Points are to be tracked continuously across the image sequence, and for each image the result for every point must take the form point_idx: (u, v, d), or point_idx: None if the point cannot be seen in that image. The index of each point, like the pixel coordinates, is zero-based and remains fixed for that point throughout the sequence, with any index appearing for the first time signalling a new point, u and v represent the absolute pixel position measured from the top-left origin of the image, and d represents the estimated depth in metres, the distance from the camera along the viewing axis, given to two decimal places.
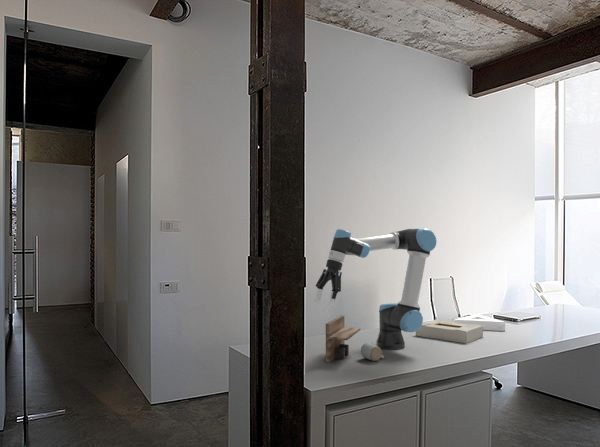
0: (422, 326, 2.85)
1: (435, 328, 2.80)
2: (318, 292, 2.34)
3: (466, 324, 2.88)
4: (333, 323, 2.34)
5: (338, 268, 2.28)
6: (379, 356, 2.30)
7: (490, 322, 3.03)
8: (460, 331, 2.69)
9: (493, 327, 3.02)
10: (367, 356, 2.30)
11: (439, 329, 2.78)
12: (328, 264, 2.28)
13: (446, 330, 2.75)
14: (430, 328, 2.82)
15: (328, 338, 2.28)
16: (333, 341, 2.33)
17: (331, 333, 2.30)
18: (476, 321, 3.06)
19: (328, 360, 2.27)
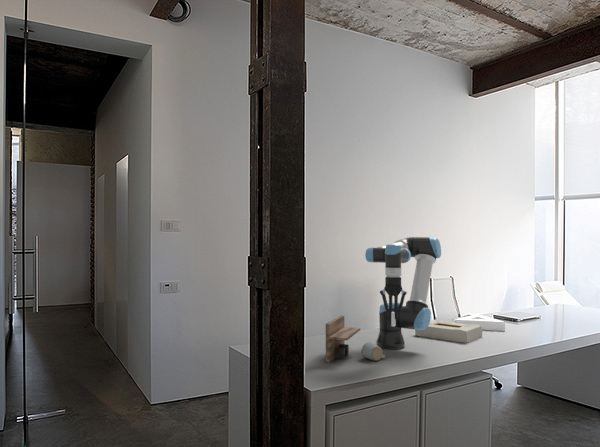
0: None
1: (435, 328, 2.80)
2: None
3: (465, 324, 2.88)
4: (333, 323, 2.34)
5: None
6: (380, 356, 2.30)
7: (490, 322, 3.03)
8: (460, 331, 2.70)
9: (493, 327, 3.02)
10: (368, 356, 2.30)
11: (439, 329, 2.78)
12: (393, 283, 2.27)
13: (446, 330, 2.75)
14: (430, 328, 2.82)
15: (328, 338, 2.28)
16: (333, 341, 2.33)
17: (331, 333, 2.30)
18: (476, 321, 3.06)
19: (328, 360, 2.27)
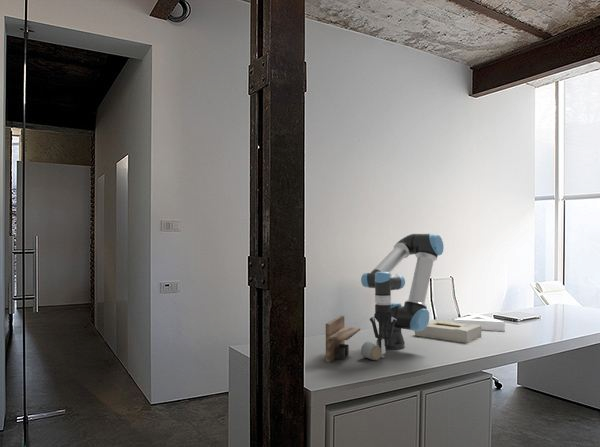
0: None
1: (435, 328, 2.80)
2: None
3: (465, 324, 2.89)
4: (333, 323, 2.34)
5: (390, 311, 2.31)
6: (379, 355, 2.31)
7: (490, 322, 3.03)
8: (460, 331, 2.70)
9: (493, 327, 3.02)
10: (367, 355, 2.31)
11: (439, 329, 2.78)
12: (383, 310, 2.28)
13: (446, 330, 2.76)
14: (430, 328, 2.82)
15: (328, 338, 2.28)
16: (333, 341, 2.33)
17: (331, 333, 2.30)
18: (476, 321, 3.06)
19: (328, 360, 2.27)
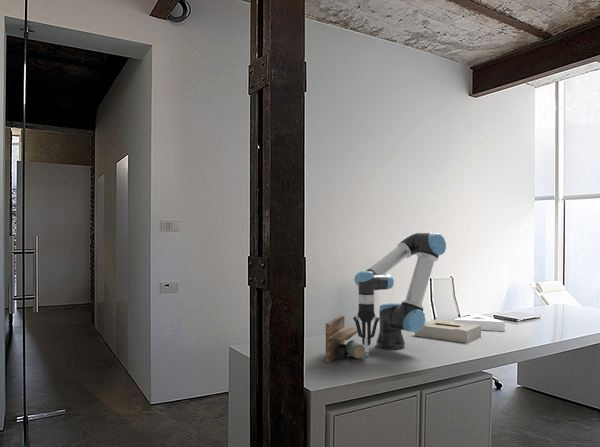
0: None
1: (434, 328, 2.80)
2: None
3: None
4: (333, 323, 2.34)
5: (373, 310, 2.34)
6: (362, 354, 2.34)
7: (490, 322, 3.03)
8: (460, 331, 2.71)
9: (493, 327, 3.02)
10: (350, 353, 2.34)
11: (439, 329, 2.79)
12: (366, 309, 2.31)
13: (446, 330, 2.76)
14: (429, 328, 2.82)
15: (328, 338, 2.28)
16: (333, 341, 2.33)
17: (331, 333, 2.30)
18: (476, 321, 3.06)
19: (328, 360, 2.27)
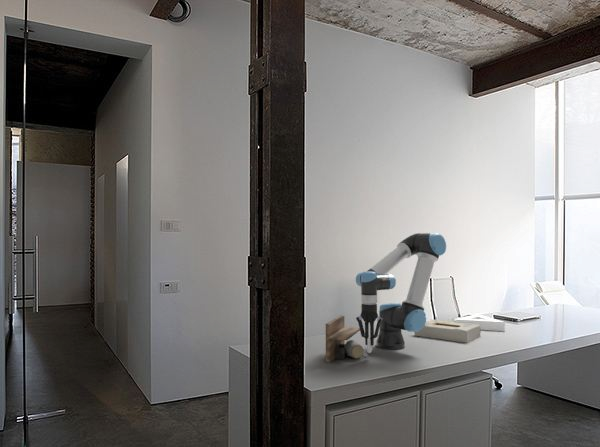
0: None
1: (434, 328, 2.80)
2: None
3: None
4: (333, 323, 2.34)
5: (376, 310, 2.34)
6: (360, 354, 2.34)
7: (490, 322, 3.03)
8: (460, 330, 2.71)
9: (493, 327, 3.02)
10: (349, 353, 2.35)
11: (438, 329, 2.79)
12: (369, 310, 2.31)
13: (446, 330, 2.76)
14: (429, 328, 2.82)
15: (328, 338, 2.28)
16: (333, 341, 2.33)
17: (331, 333, 2.30)
18: (476, 321, 3.06)
19: (328, 360, 2.27)
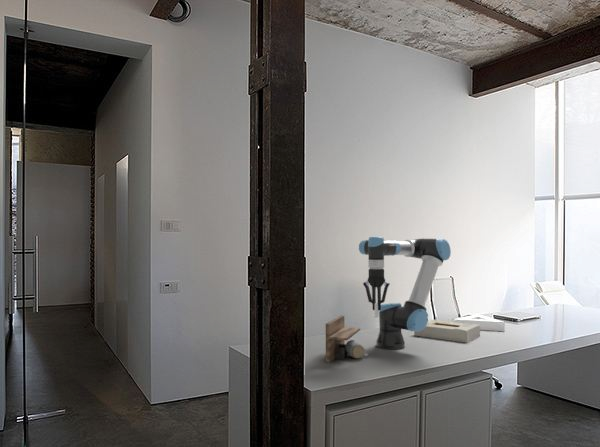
0: None
1: (434, 328, 2.81)
2: None
3: (463, 323, 2.90)
4: (333, 323, 2.34)
5: None
6: (361, 354, 2.34)
7: (489, 322, 3.03)
8: (460, 330, 2.71)
9: (492, 327, 3.02)
10: (349, 353, 2.35)
11: (438, 329, 2.79)
12: (376, 274, 2.30)
13: (446, 330, 2.76)
14: (429, 328, 2.82)
15: (328, 338, 2.28)
16: (333, 341, 2.33)
17: (331, 333, 2.30)
18: (475, 321, 3.06)
19: (328, 360, 2.27)
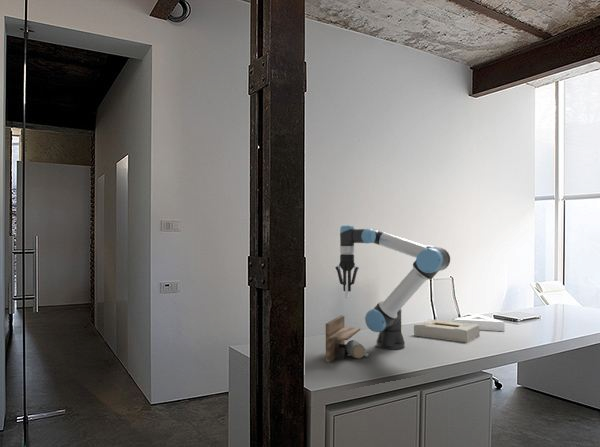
0: (421, 326, 2.86)
1: (434, 328, 2.81)
2: None
3: (463, 323, 2.91)
4: (333, 323, 2.34)
5: (353, 260, 2.60)
6: (362, 354, 2.34)
7: (489, 322, 3.03)
8: (460, 330, 2.71)
9: (492, 327, 3.02)
10: (350, 353, 2.35)
11: (438, 329, 2.79)
12: (347, 259, 2.57)
13: (446, 329, 2.77)
14: (429, 328, 2.83)
15: (328, 338, 2.28)
16: (333, 341, 2.33)
17: (331, 333, 2.30)
18: (475, 321, 3.06)
19: (328, 360, 2.27)
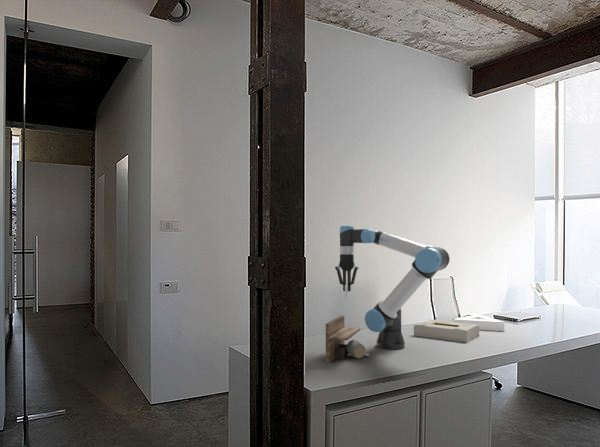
0: (420, 326, 2.86)
1: (434, 328, 2.81)
2: None
3: (462, 323, 2.91)
4: (333, 323, 2.34)
5: (353, 260, 2.61)
6: (362, 354, 2.34)
7: (489, 322, 3.03)
8: (460, 330, 2.72)
9: (492, 327, 3.02)
10: (351, 353, 2.35)
11: (438, 329, 2.79)
12: (346, 259, 2.58)
13: (445, 329, 2.77)
14: (429, 328, 2.83)
15: (328, 338, 2.28)
16: (333, 341, 2.33)
17: (331, 333, 2.30)
18: (475, 321, 3.06)
19: (328, 360, 2.27)
